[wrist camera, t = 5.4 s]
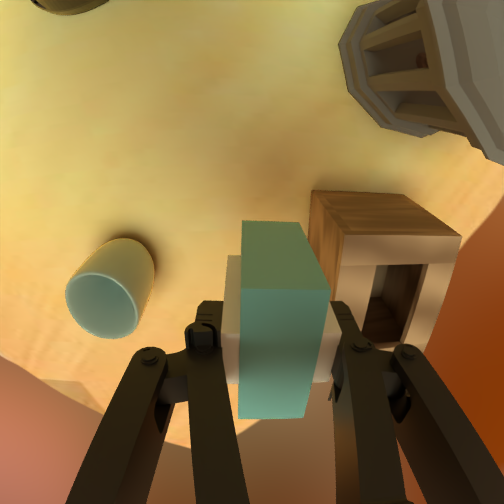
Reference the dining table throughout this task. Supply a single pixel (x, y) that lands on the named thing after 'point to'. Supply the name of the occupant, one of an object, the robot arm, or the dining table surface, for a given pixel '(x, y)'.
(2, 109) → the dining table surface
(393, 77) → the lantern
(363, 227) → the coin box
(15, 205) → the dining table surface
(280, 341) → the block
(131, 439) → the robot arm
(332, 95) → the dining table surface
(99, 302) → the cup
